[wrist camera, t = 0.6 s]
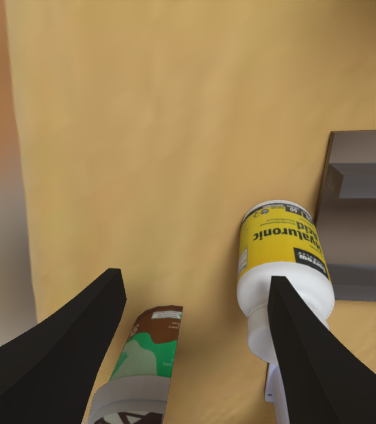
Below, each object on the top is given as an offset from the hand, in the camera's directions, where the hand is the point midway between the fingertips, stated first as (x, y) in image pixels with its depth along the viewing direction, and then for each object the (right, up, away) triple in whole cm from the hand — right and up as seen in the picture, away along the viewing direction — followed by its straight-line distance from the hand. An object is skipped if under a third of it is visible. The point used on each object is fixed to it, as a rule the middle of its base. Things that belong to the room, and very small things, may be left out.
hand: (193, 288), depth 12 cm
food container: (-4, -9, +16) cm, 20 cm away
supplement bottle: (+7, +3, +8) cm, 11 cm away
